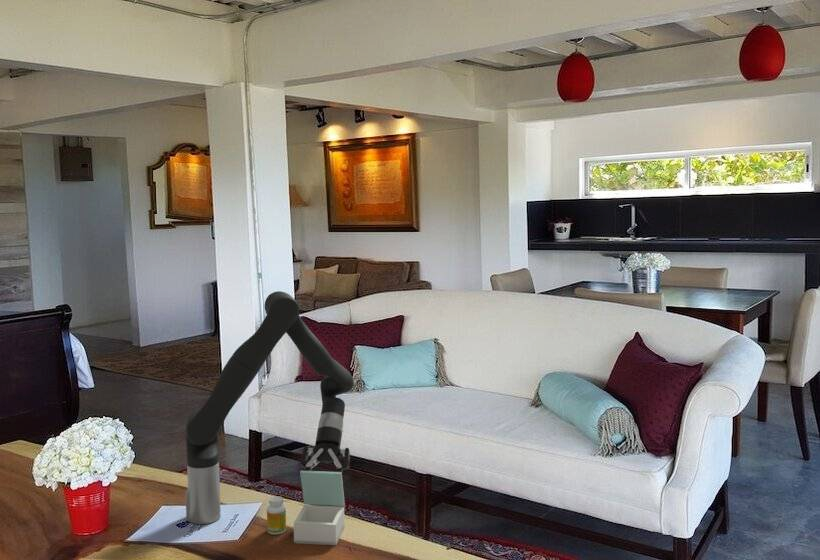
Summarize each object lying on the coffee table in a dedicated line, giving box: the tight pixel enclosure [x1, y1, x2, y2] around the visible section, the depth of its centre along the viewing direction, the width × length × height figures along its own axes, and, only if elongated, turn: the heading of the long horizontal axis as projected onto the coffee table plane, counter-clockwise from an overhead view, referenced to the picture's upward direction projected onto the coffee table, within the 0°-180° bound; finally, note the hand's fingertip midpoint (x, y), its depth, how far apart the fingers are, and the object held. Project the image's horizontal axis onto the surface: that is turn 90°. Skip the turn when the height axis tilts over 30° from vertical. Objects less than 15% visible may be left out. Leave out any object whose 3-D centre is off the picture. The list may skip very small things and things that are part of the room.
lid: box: [299, 470, 346, 507], centre depth 220 cm, size 12×12×1 cm
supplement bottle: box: [266, 495, 287, 535], centre depth 219 cm, size 5×5×10 cm
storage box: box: [293, 504, 345, 546], centre depth 217 cm, size 12×12×6 cm
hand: (322, 481), depth 220 cm, fingers open, 8 cm apart
